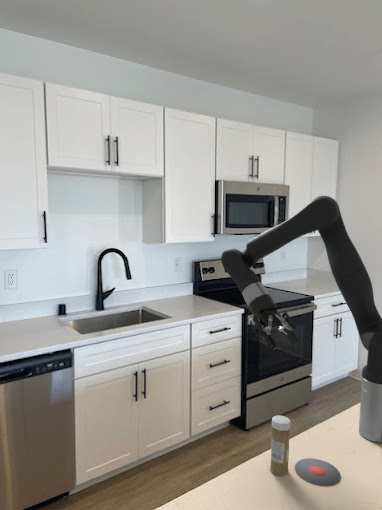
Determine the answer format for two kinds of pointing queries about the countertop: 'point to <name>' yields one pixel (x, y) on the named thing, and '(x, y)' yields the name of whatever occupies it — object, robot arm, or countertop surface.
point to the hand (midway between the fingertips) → (285, 346)
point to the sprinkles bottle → (280, 445)
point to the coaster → (317, 472)
